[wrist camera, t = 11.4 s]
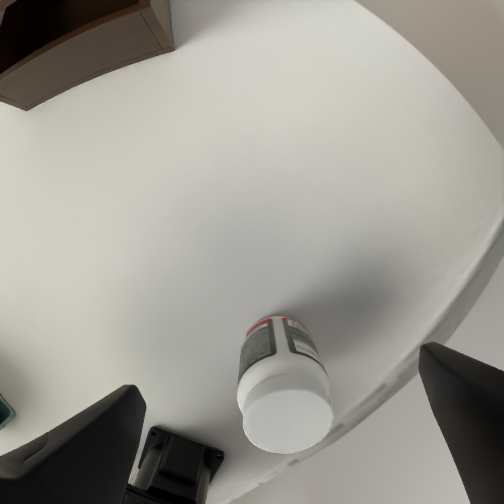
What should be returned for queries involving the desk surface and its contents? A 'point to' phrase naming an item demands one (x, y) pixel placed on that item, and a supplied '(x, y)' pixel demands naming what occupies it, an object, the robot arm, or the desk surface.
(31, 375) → the desk surface
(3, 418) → the flower pot
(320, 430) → the pill bottle
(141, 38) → the bin
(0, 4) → the bin lid
